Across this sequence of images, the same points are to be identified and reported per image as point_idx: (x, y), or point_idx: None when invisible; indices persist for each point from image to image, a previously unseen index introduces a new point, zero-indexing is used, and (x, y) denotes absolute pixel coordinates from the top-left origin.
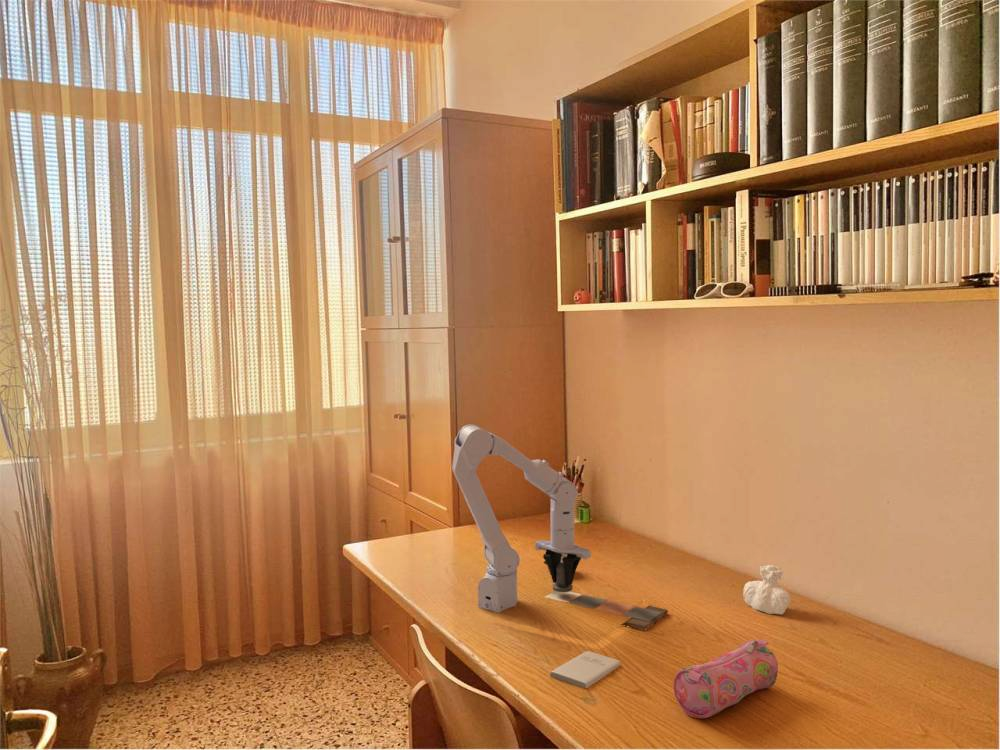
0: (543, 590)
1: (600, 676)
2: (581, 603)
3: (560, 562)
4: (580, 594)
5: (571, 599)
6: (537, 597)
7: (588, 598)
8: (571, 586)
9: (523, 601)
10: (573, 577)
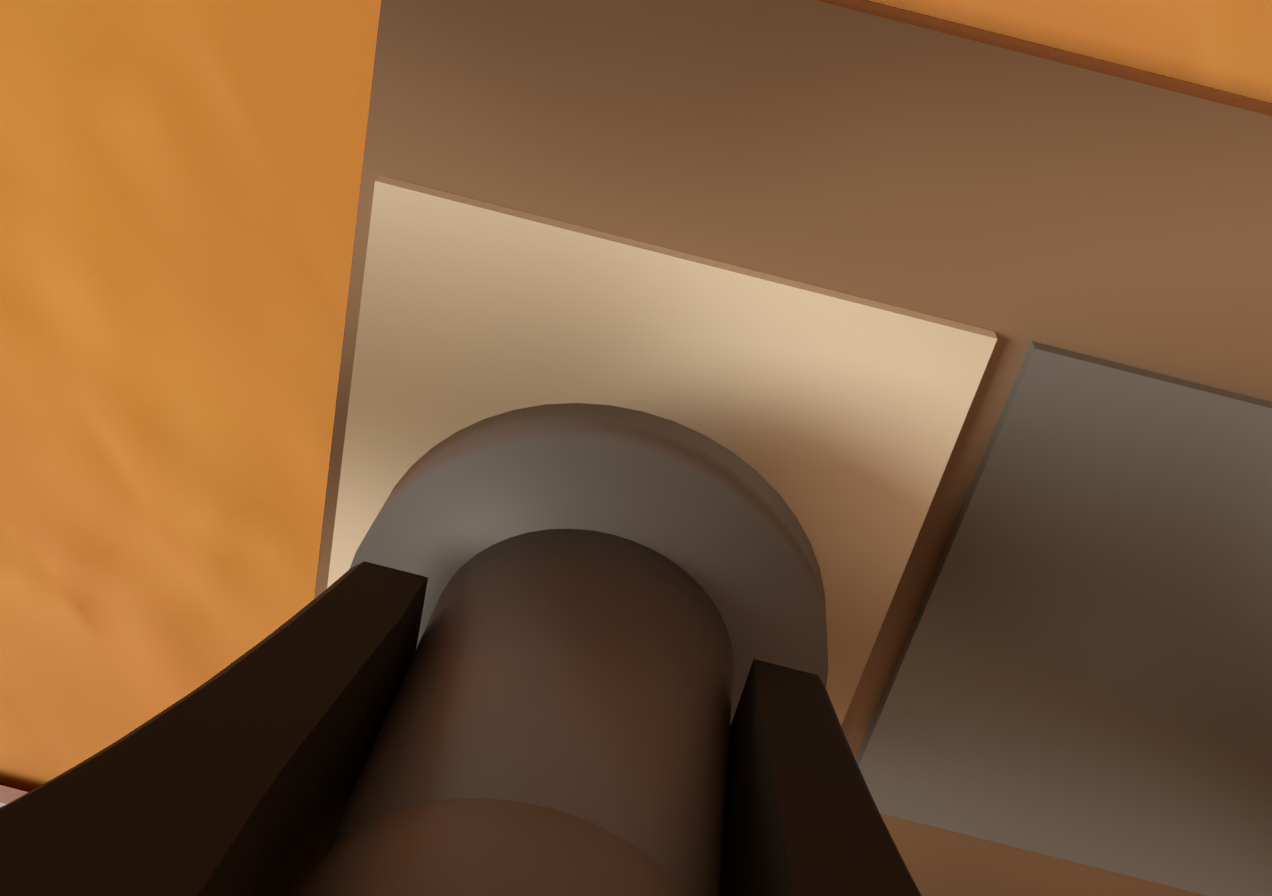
0: (17, 41)
1: None
2: (1079, 784)
3: (204, 884)
4: (971, 358)
5: (845, 661)
6: (138, 455)
7: (1192, 531)
8: (807, 658)
9: (47, 673)
10: (863, 785)
